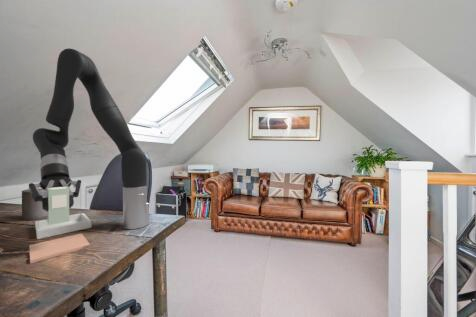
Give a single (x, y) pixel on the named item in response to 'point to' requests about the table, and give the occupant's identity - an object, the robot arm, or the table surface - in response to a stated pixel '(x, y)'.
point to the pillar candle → (32, 206)
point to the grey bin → (62, 226)
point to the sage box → (58, 205)
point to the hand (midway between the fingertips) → (59, 208)
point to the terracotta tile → (57, 247)
